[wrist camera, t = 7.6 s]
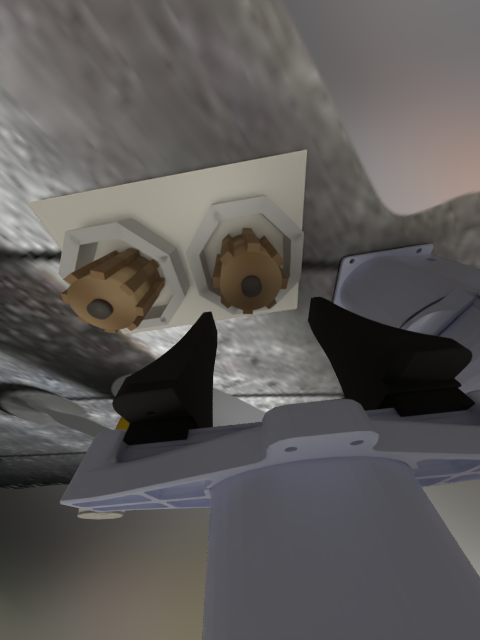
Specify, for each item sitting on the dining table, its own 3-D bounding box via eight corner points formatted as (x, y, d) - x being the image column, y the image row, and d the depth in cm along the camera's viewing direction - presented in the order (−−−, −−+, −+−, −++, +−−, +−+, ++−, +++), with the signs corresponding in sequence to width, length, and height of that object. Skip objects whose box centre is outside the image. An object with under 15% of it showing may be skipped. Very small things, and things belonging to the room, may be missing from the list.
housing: (300, 153, 14) (321, 141, 11) (293, 302, 22) (304, 321, 19) (43, 201, 15) (-9, 204, 12) (128, 326, 23) (112, 348, 20)
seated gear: (134, 235, 15) (84, 258, 10) (176, 283, 18) (155, 321, 13) (95, 266, 17) (33, 300, 12) (140, 306, 20) (107, 348, 14)
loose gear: (276, 229, 16) (300, 248, 10) (267, 284, 19) (283, 320, 14) (216, 226, 15) (209, 244, 10) (218, 283, 18) (213, 320, 13)
